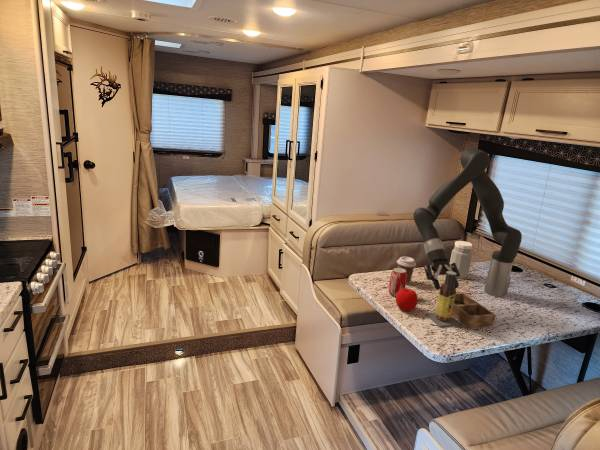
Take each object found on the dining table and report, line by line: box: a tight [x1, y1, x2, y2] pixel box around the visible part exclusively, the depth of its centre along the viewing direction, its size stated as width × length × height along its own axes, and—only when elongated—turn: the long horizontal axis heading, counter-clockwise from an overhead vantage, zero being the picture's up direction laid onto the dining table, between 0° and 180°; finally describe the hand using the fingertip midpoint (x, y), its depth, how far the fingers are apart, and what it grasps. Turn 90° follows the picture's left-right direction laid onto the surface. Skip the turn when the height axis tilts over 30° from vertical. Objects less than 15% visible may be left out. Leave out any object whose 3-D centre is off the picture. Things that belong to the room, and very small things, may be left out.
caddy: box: [452, 292, 497, 329], centre depth 165 cm, size 12×20×5 cm, turn 16°
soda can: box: [388, 267, 407, 297], centre depth 178 cm, size 7×7×12 cm
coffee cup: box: [396, 256, 417, 285], centre depth 192 cm, size 9×9×12 cm
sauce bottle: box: [435, 271, 457, 321], centre depth 158 cm, size 7×6×20 cm
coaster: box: [424, 311, 462, 328], centre depth 160 cm, size 10×10×1 cm
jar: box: [449, 240, 473, 280], centre depth 204 cm, size 10×10×18 cm
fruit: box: [395, 286, 419, 312], centre depth 166 cm, size 9×9×10 cm
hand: (447, 288), depth 158 cm, fingers open, 8 cm apart
